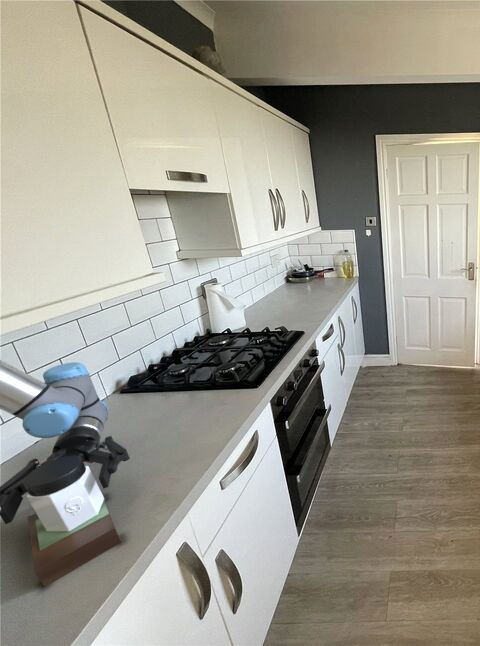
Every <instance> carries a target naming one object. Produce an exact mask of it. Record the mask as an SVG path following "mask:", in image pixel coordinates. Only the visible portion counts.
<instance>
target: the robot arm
mask: <svg viewBox="0 0 480 646" xmlns="http://www.w3.org/2000/svg"><path fill="white" fill-rule="evenodd" d="M90 375H91V373H90V372H89V371H88V369H87V367H86V365H85V364H84V363H82V362H75V361H74V362H73V361H72V362H67V363H62V364H61V363H60V364H57V365H55V366H53V367H50V368H48V369H47V370H45V371H44V372H43V374H42V378H43V380H44V382H43V381H41V380H39V379H38V378H36V377H34V376H32V375H30V374H28V373H26V372H24V371H22V370H20V368H19V369H18V368H17V367H15V366H13V365H11V364H9V363H7V362H6V361H4V360H2V359H0V410H1V411H3V412H6V413H8V414H10V415H12V416H14V417H16V418H18V419H21V420H22V424H21V425H22V428H23V430H24V431H25V433H26V434H28V435H29V436H31V437H34V438H39V439H49V438H50V439H51V438H55V437H57V439H56V441H55V443H54V445H53V447H52V452H51V454H50V455H49V456H48V457H47V458H45V459H41V460H39V459H38V458H33V459H31V460H29V461H28V462H27V464H26V465H25V466H24V467H23V468H22V469H21V470H20V471H18V472H17V473H16V474H14V475H13V476H12V477H10V478H9V479H7V481H6V482H4V483H3V484H1V485H0V518H1V519H2V521H3V522H4V524H5V525H8V524H10V523H12V522H13V520H14V518H15V516H16V514H17V512H18V511H19V508H20V506H21V504H22V502H23V501H24V497H23V496H24V495H25V494H27V493H28V491H27V490H26V488H25V486H24V485H23V481H24V479H25V478H26V477H27V475H29V474H30V473H31V472H32V471H34V470H35V469H37V468H38V467H40V466H42V465H44V464H46V463H48V462H50V461H52V460H55V459H58V458H62V457H66V456H79V457H80V458H81V459H82V461H83V463H88V464H93V463H96V464H100V465H101V468H100V472H99V475H98V481H99V483H100V485H101V487H102V489H103V490H104V489H108V488H109V485H110V481H111V475H113V474H115V473H116V472H117V470H118V466H119V465H120V463H121V462H127V461H129V460H130V459H131V458H130V455H129V453H128V451H127V448H125V447H123V446H122V445H120V444H119V443H117V441H114V439H113V436H112V435H109V436H107V437H105V438H104V440H103V441H101V439H102V435H103V432H104V427H105V424H106V422H107V420H108V418H109V417H108V416H109V407H108V404H106V402H104V400H101V399H100V397H99V395H98V392H97V390H96V388H95V385H94V383H93V380H92V378H91V376H90ZM100 449H103V450H105V451H102V450H100ZM107 451H108V452H107Z"/></svg>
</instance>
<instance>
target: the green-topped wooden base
mask: <svg viewBox="0 0 480 646" xmlns="http://www.w3.org/2000/svg"><path fill="white" fill-rule="evenodd" d="M97 485H98V487H99V489H100V491H101V493H102V495H103V497H104V501H103V503H102V506H101V508H100V511H99V513H98V515H96V516H95V517H93V518H91V519H90V520H88V521H86V522H85V523H83V524H81V525H79V526H78V527H76V528H74V529H73V530H71V531H69V532H47V531H46V529H45V527H44V526H43V524H42V522H41V521H40V519H39V517H38V516H37V514H36V512H34V513H33V514H30V515H29V516H27V522H28V529H29V530H28V531H29V536H30V537H29V538H30V546H31V553H32V560H33V569H34V574H35V575H36V577H37V578H38V580H39V581H40V583H41V584H42V585H43V588H46V587H48V586H50V585H51V584H53V583H54V582H56V581H58V580H59V579H61V578H63V577H65V576H66V575H68V574H70V573H71V572H74V571H75V570H77V569H78V568H81V567H82V566H84V565H86V564H87V563H88V562H90V561H92V560H94V559H96V558H97V557H99V556H100V555H102V554H104V553H106V552H107V551H110V550H111V549H112V548H114V547H117V546H118V545H119V544H121V543H122V539H121V536H120V535H119V533H118V531H117V528H116V526H115V524H114V521H113V519H112V516H111V513H110V511H109V508H108V505H107V504H106V499H105V496H104V494H103V492H102V490H101V488H100V486H99V484H98V483H97Z"/></svg>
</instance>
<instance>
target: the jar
mask: <svg viewBox="0 0 480 646" xmlns="http://www.w3.org/2000/svg"><path fill="white" fill-rule="evenodd" d="M97 484H98V483H97V480H96V479H95V476H94V475H93V472H92V470H91V468H90V466H89V465H86V464H85V462H83V461H82V459H81V458H80V457H79V456H66V457H62V458H58V459H55V460H52V461H50V462H48V463H46V464H44V465H42V466H40V467H38V468H37V469H35V470H34V471H32V472H31V473H30V474H29V475H27V477H26V478H25V479H24V481H23V485H24V486H25V488H26V490H27V491H28V492H27V493H28V494H27V495H26V499H27V500H28V503H29V504H30V505H31V507H32V509H33V511H34V513H36V514H37V516H38V517H39V519H40V521H41V522H42V524H43V526H44V527H45V529H46V531H47V532H69V531H71V530H73V529H74V528H76V527H78V526H79V525H81V524H83V523H85V522H86V521H88V520H90V519H91V518H93V517H95V516H96V515H98V513H99V511H100V508H101V506H102V503H103V501H104V499H105V496H104V494H103V492H102V490H101V488H100V486H99V484H98V485H97ZM98 486H99V487H98ZM99 488H100V489H99ZM100 490H101V491H100ZM101 492H102V493H101ZM102 494H103V495H102ZM103 496H104V497H103Z"/></svg>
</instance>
